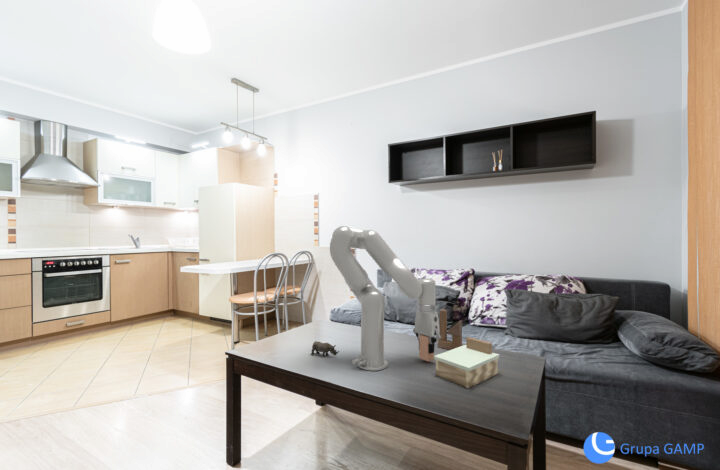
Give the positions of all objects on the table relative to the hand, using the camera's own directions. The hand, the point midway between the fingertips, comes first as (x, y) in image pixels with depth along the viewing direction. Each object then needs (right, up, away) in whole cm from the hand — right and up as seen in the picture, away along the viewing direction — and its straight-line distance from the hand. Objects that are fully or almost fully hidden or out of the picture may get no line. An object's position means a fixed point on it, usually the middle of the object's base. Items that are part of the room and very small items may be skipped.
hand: (426, 350), depth 138 cm
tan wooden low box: (+13, -5, -13) cm, 19 cm away
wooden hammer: (+15, -5, +17) cm, 23 cm away
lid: (+13, +2, -13) cm, 18 cm away
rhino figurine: (-44, -5, +7) cm, 45 cm away
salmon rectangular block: (0, -3, 0) cm, 3 cm away
